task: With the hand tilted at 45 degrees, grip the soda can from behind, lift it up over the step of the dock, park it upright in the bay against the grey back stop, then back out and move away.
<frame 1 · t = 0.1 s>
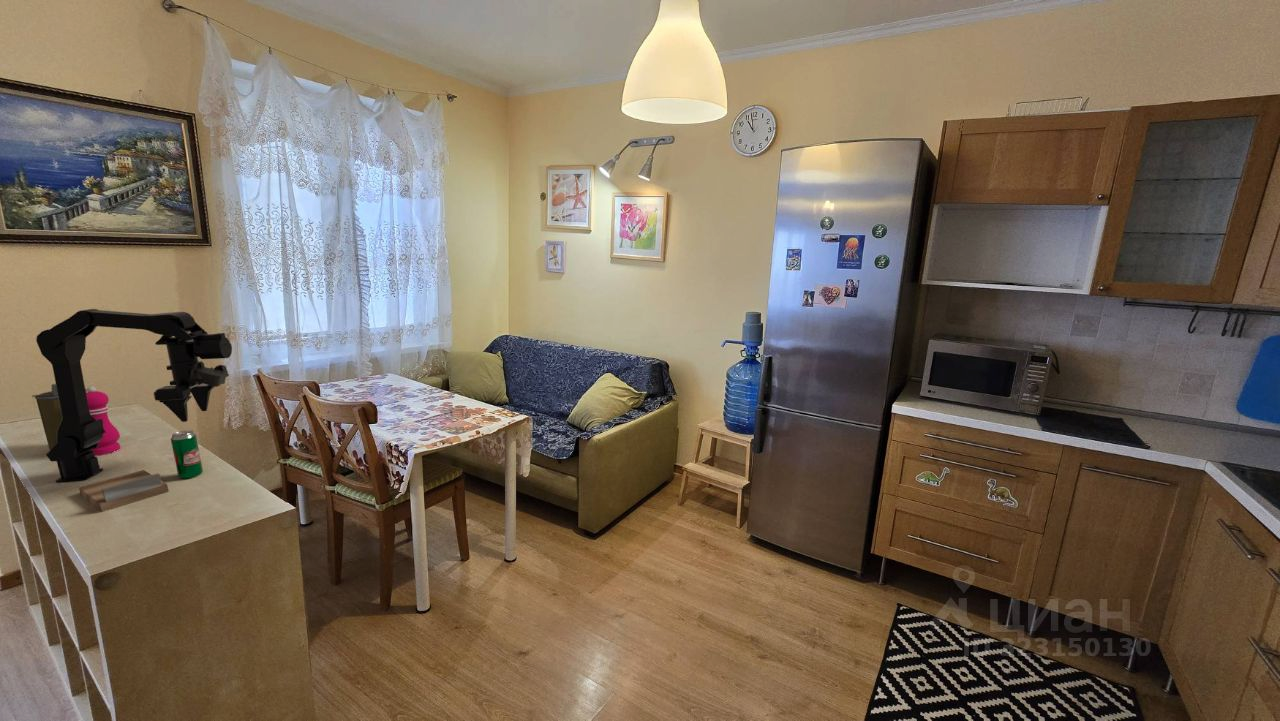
hand: (194, 416, 141), 15 cm above the table, tool pointing down, fingers open, 9 cm apart
canister: (74, 449, 157), on the table
pepper mill: (106, 452, 155), on the table
soda can: (191, 476, 139), on the table
dock: (125, 493, 129), on the table
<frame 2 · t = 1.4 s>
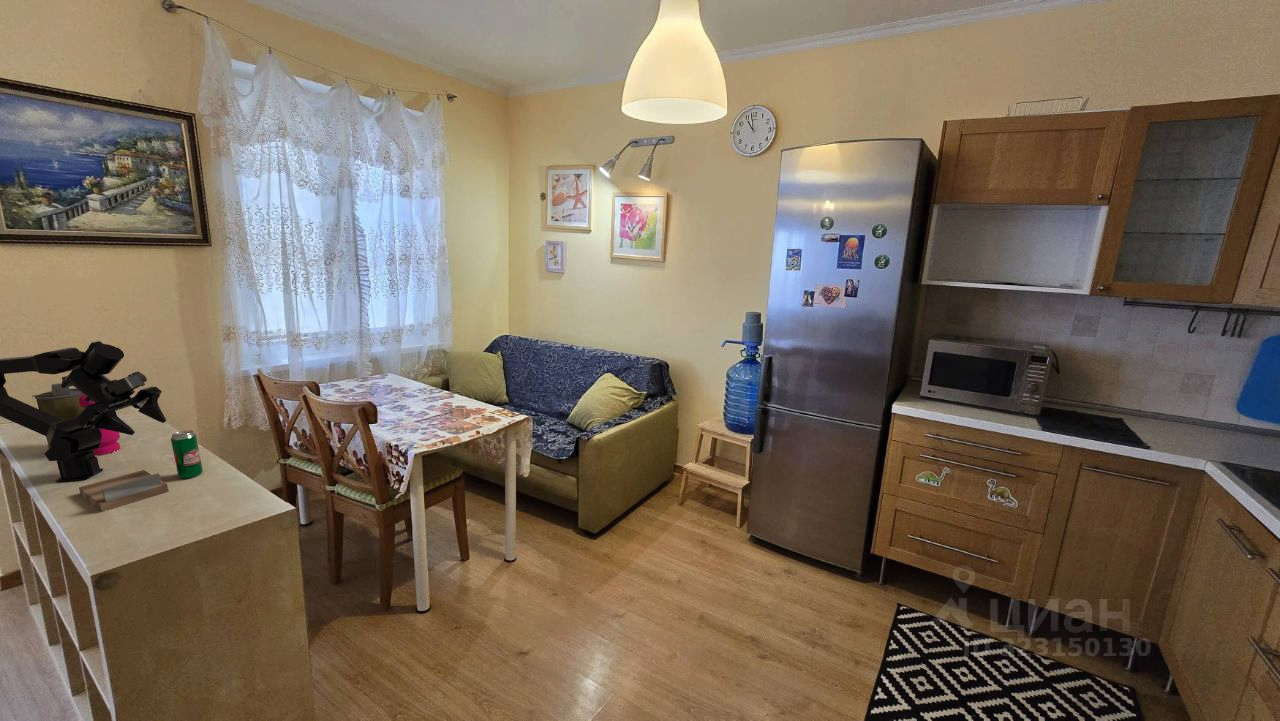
hand: (149, 427, 136), 14 cm above the table, tool tilted 45°, fingers open, 9 cm apart
nothing on the table moved.
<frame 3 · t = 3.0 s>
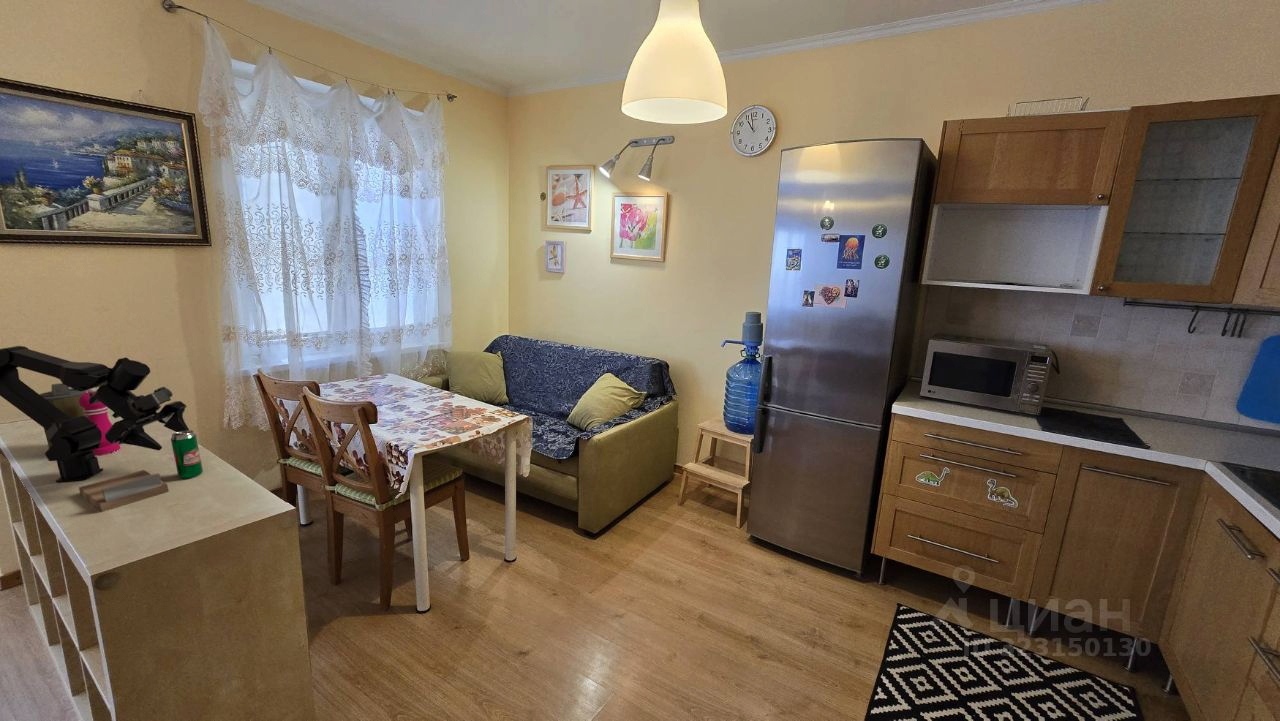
hand: (176, 442, 137), 9 cm above the table, tool tilted 45°, fingers open, 9 cm apart
nothing on the table moved.
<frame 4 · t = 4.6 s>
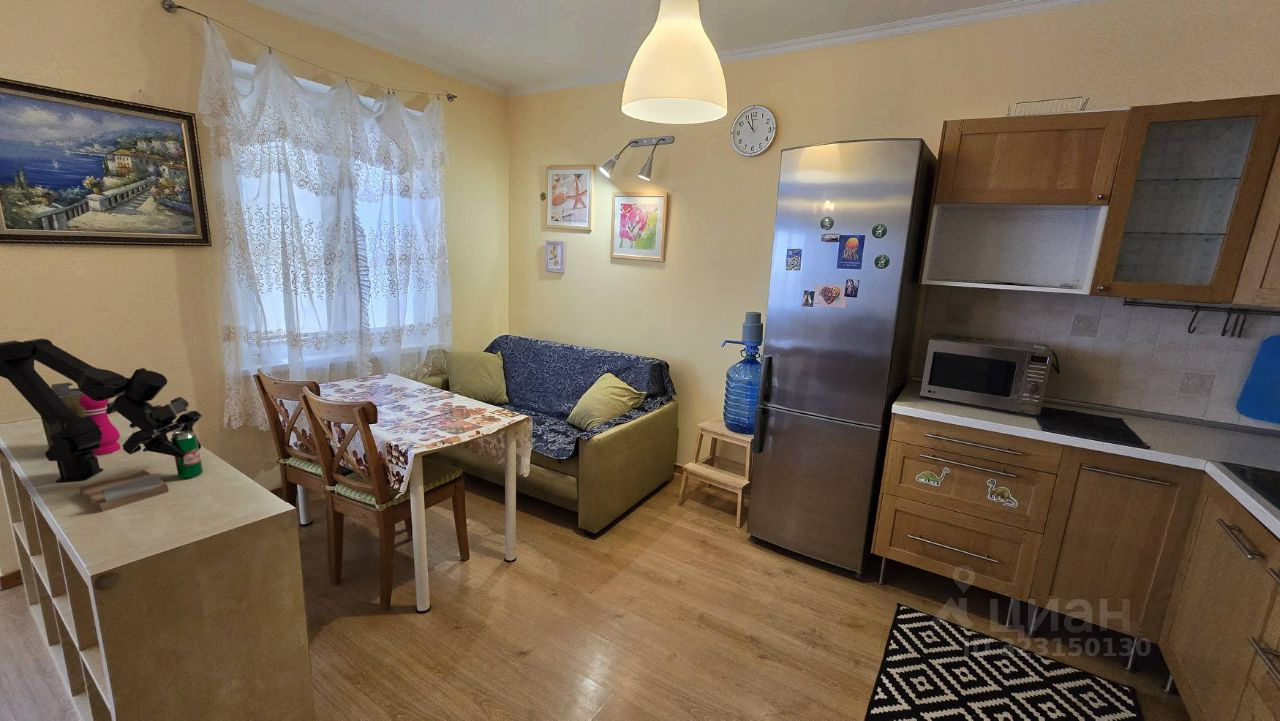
hand: (192, 452, 137), 7 cm above the table, tool tilted 45°, fingers closed on soda can, 5 cm apart
soda can: (191, 476, 139), on the table, touching gripper
everything else where it was.
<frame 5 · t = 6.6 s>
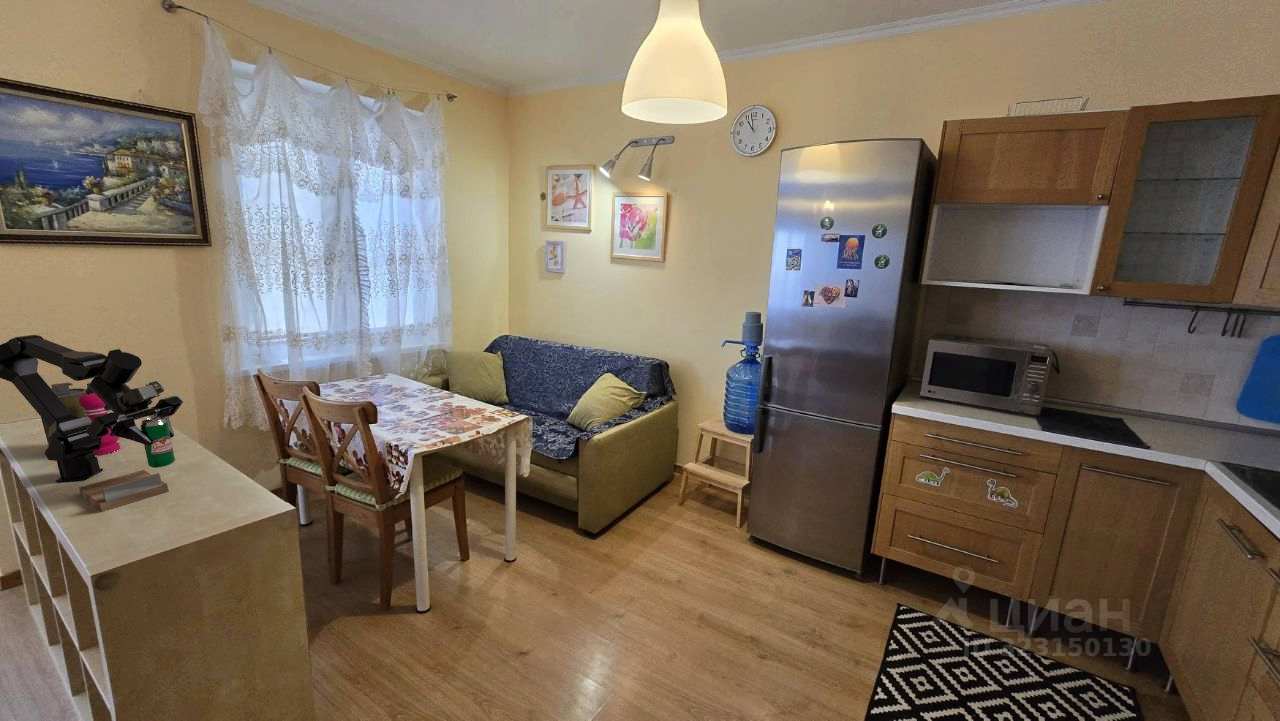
hand: (161, 440, 130), 12 cm above the table, tool tilted 45°, fingers closed on soda can, 5 cm apart
soda can: (162, 465, 132), point 5 cm above the table, touching gripper
everything else where it was.
when the fingers open (10 cm above the table, at t = 8.5 s): soda can stays where it is, resting on dock.
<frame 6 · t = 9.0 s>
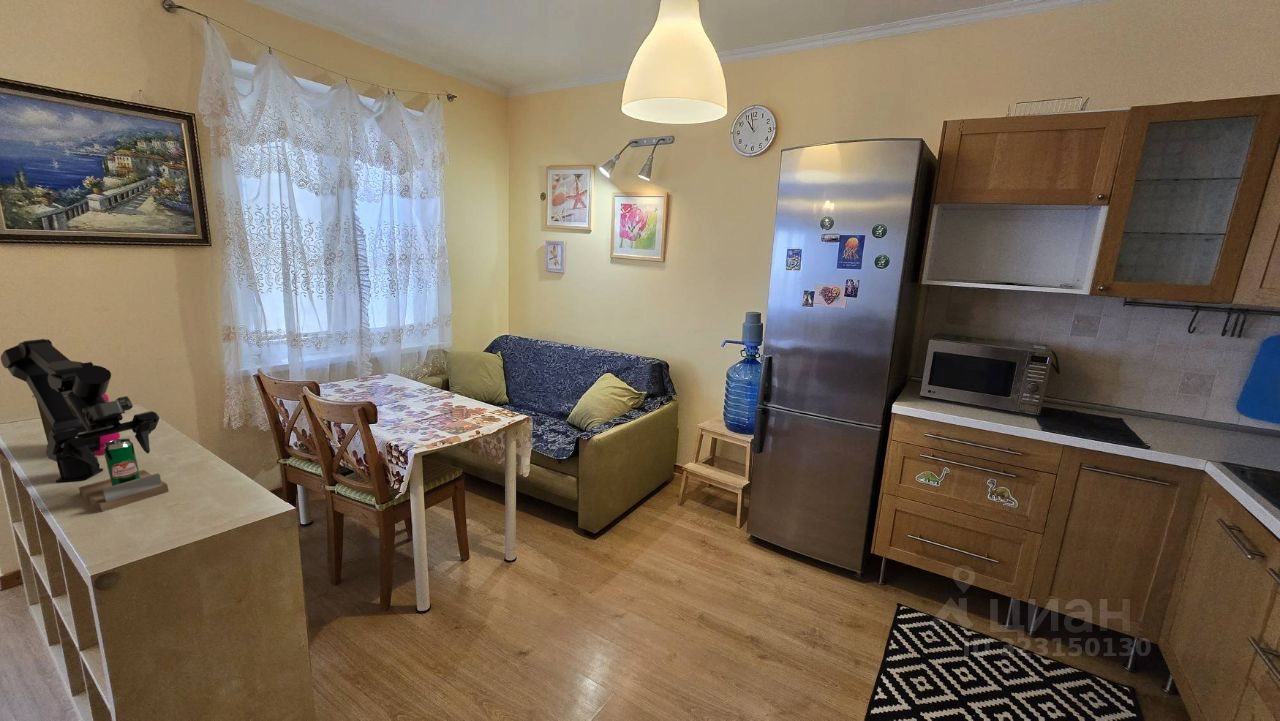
hand: (124, 459, 124), 10 cm above the table, tool tilted 45°, fingers open, 9 cm apart
soda can: (128, 488, 127), point 2 cm above the table, touching dock
everything else where it was.
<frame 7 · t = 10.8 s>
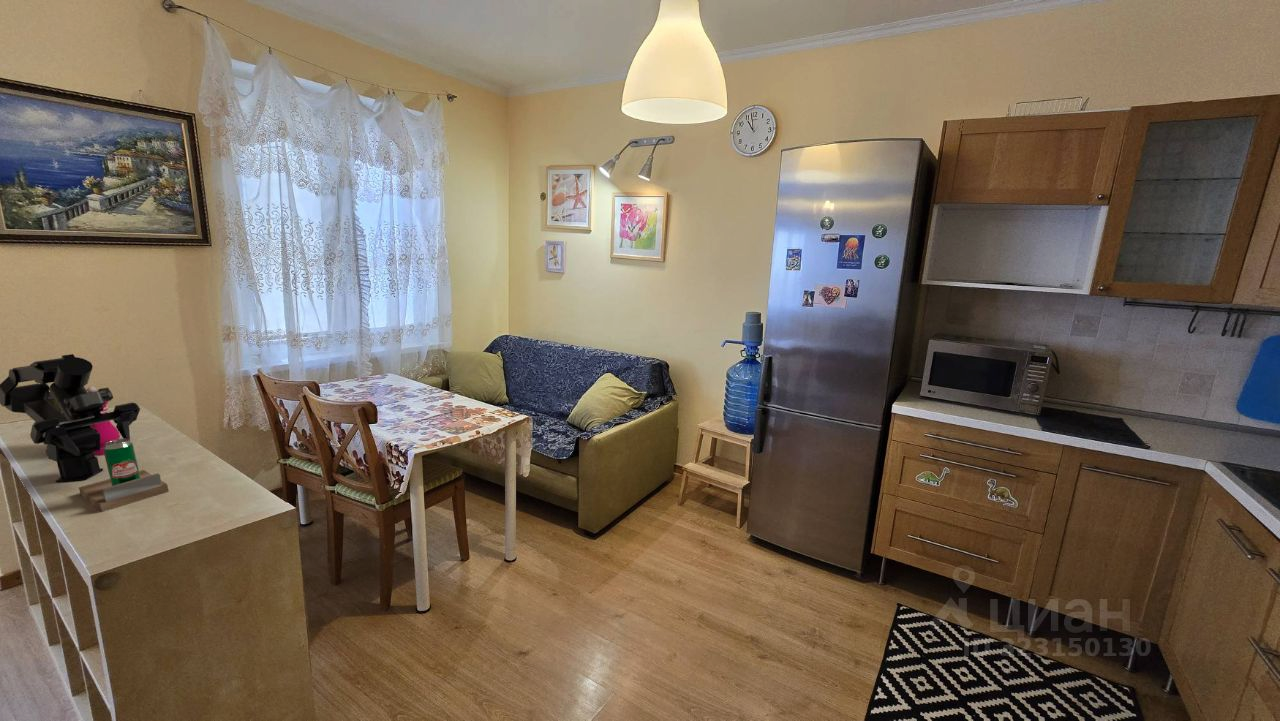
hand: (104, 448, 128), 11 cm above the table, tool tilted 45°, fingers open, 9 cm apart
nothing on the table moved.
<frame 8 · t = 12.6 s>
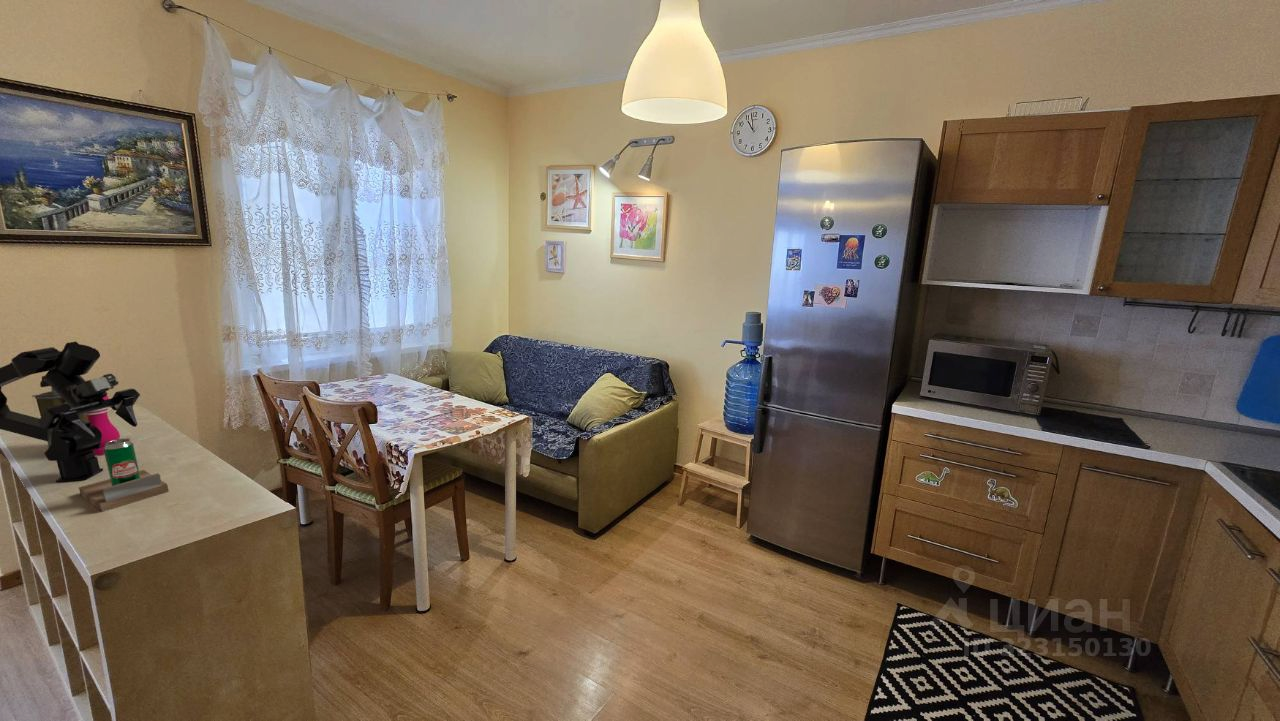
hand: (115, 431, 132), 14 cm above the table, tool tilted 45°, fingers open, 9 cm apart
nothing on the table moved.
at the end: soda can inside the target area on the dock (0.2 cm from its centre), point 2.0 cm above the dock's base; soda can tilted 0°; the gripper is holding nothing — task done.
